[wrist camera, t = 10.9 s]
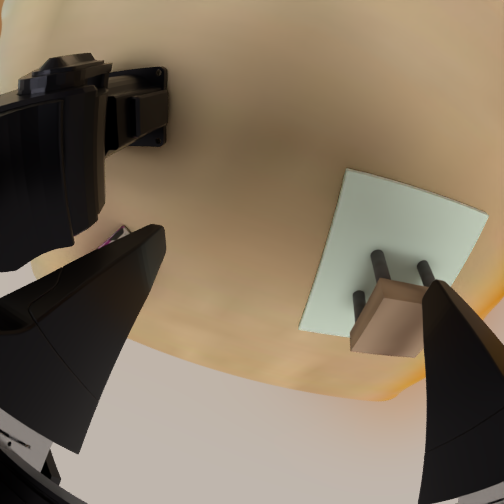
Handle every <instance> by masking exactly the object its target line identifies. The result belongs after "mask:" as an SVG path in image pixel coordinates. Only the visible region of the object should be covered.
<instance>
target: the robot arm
mask: <svg viewBox="0 0 504 504" xmlns="http://www.w3.org/2000/svg"><path fill="white" fill-rule="evenodd" d="M111 69H112V63H104V61H97V60H95V59H94V58H93V56H92V55H91V53H82V54H73V55H66V56H59V57H54V58H49V59H48V60H47V61H46V62H45V63H44V64H43V66H42V67H41V68H40V69H37V70H34V71H32V72H31V73H29V74H27V75H25V76H23V77H21V78H20V79H19V81H18V90H14V91H11V92H8V93H5V94H2V95H0V272H9V271H15V270H18V269H19V268H20V267H22V266H24V265H25V264H27V263H28V262H30V261H31V260H33V259H34V258H36V257H38V256H39V255H41V254H43V253H46V252H49V251H52V250H54V249H58V248H64V247H70V246H73V245H74V243H75V242H74V236H76V235H78V234H80V233H81V232H83V231H85V230H87V229H88V228H89V227H91V226H92V225H93V224H94V223H95V222H96V221H97V220H98V214H99V213H100V211H101V209H102V208H103V206H104V204H105V158H106V157H108V156H110V155H112V154H113V153H115V152H117V151H119V150H120V149H122V148H124V147H126V146H151V147H160V146H162V145H164V144H165V142H166V124H167V123H168V92H167V91H166V82H167V70H166V68H164V67H150V68H140V69H132V70H124V71H118V72H111ZM159 70H161V75H160V76H159V75H158V71H159ZM109 72H111V73H109ZM158 138H160V139H161V143H160V142H159V141H158ZM165 253H166V239H165V230H164V227H163V226H161V225H156V224H150V225H148V226H145V227H143V228H141V229H139V230H137V231H134V232H132V233H130V234H128V235H126V236H124V237H121V238H119V239H117V240H115V241H113V242H111V243H109V244H107V245H105V246H103V247H101V248H98V249H96V250H94V251H92V252H90V253H88V254H86V255H84V256H82V257H80V258H78V259H77V260H75V261H73V262H71V263H69V264H67V265H65V266H63V268H62V267H61V268H59V269H57V270H56V271H54V272H52V273H50V274H48V275H46V276H44V277H42V278H40V279H38V280H36V281H34V282H32V283H30V284H28V285H26V286H24V287H22V288H20V289H18V290H16V291H14V292H12V293H10V294H7V295H6V296H3V297H2V298H0V504H87V503H85V502H84V501H82V500H80V499H78V498H77V497H75V496H74V495H72V494H70V493H69V492H67V491H66V490H64V489H63V488H61V487H60V486H59V484H60V481H61V477H60V475H59V472H58V470H57V467H56V464H55V462H54V459H53V456H52V453H51V450H50V447H51V445H52V442H55V443H56V444H58V445H60V446H62V447H64V448H66V449H68V450H70V451H72V452H74V453H76V454H79V452H80V449H81V447H82V444H83V441H84V438H85V436H86V433H87V430H88V428H89V425H90V422H91V419H92V417H93V414H94V412H95V410H96V407H97V405H98V402H99V399H100V397H101V394H102V392H103V390H104V387H105V385H106V383H107V380H108V378H109V376H110V374H111V371H112V369H113V367H114V364H115V362H116V360H117V358H118V356H119V354H120V351H121V349H122V347H123V345H124V343H125V341H126V339H127V337H128V335H129V332H130V330H131V328H132V326H133V324H134V322H135V320H136V318H137V316H138V314H139V312H140V310H141V308H142V306H143V304H144V302H145V300H146V299H147V297H148V295H149V292H150V290H151V288H152V285H153V283H154V280H155V278H156V275H157V273H158V270H159V268H160V265H161V263H162V260H163V258H164V256H165ZM422 319H423V345H424V356H425V370H426V390H427V391H426V392H427V422H426V444H425V452H426V453H425V456H424V465H423V474H422V482H421V488H420V494H419V499H418V504H432V503H438V502H442V501H446V500H450V499H454V498H458V503H457V504H504V345H503V344H502V343H501V341H500V340H499V339H498V338H497V337H496V335H495V334H494V333H493V332H492V331H491V329H489V327H488V326H487V325H486V324H485V323H484V322H483V320H482V319H481V318H480V317H479V316H478V315H477V314H476V313H475V312H474V310H473V309H472V308H471V307H470V306H469V305H468V304H467V303H466V302H465V301H464V300H463V299H462V298H461V297H460V296H459V295H458V294H457V293H456V292H455V291H454V290H453V289H452V288H451V287H450V286H449V285H448V284H447V283H446V282H445V281H443V280H438V279H435V280H433V281H432V283H431V284H430V286H429V288H428V289H427V291H426V292H425V294H424V296H423V298H422Z"/></svg>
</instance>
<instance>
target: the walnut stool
mask: <svg viewBox="0 0 504 504" xmlns="http://www.w3.org/2000/svg"><path fill="white" fill-rule="evenodd" d="M370 257H371V261H372V265H373V270H374V274H375V279H376V286H375V288H374V290H373V292H372V294H371V295H370V297H369V299H368V301H367V303H366V300H365V293H364V292H363V291H361V290H358V291H355V292H354V293H353V295H352V296H353V306H354V317H355V324H354V326H353V328H352V329H351V331H350V351H351V352H359V353H368V354H377V355H387V356H398V357H411V358H415V357H416V356H417V355H418V354H419V353H420V351H421V350H422V349H423V348H424V345H423V319H422V298H423V296H424V294H425V292H426V291H427V289H428V288H429V286H430V284H431V283H432V281H433V280H435V277H434V275H433V273H432V270H431V268H430V266H429V264H428V262H427V261H426V260H422V261H420V262H419V263H418V264H417V270H418V272H419V275H420V277H421V280H422V283H423V286H420V285H415V284H410V283H405V282H400V281H395V280H391V277H390V273H389V270H388V266H387V263H386V260H385V256H384V253H383V251H382V250H379V249H377V250H374V251H373V252H372V253H371V255H370Z"/></svg>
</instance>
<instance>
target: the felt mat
mask: <svg viewBox="0 0 504 504" xmlns="http://www.w3.org/2000/svg"><path fill="white" fill-rule="evenodd" d="M488 217H489V215H488V214H487V213H486V212H484V211H481V210H479V209H476V208H474V207H471V206H469V205H466V204H464V203H461V202H458V201H456V200H453V199H450V198H447V197H445V196H442V195H439V194H436V193H433V192H430V191H427V190H424V189H421V188H418V187H415V186H411V185H408V184H405V183H402V182H398V181H395V180H391V179H388V178H384V177H380V176H377V175H373V174H369V173H365V172H361V171H357V170H353V169H349V168H346V171H345V175H344V179H343V183H342V187H341V191H340V194H339V198H338V202H337V206H336V209H335V213H334V217H333V220H332V224H331V227H330V231H329V234H328V238H327V241H326V244H325V248H324V251H323V254H322V258H321V261H320V264H319V267H318V270H317V273H316V277H315V280H314V283H313V286H312V289H311V292H310V295H309V298H308V301H307V304H306V307H305V309H304V312H303V315H302V318H301V321H300V324H299V329H298V330H304V331H310V332H316V333H322V334H329V335H335V336H342V337H350V331H351V329H352V328H353V326H354V324H355V317H354V306H353V296H352V295H353V293H354V292H355V291H358V290H361V291H363V292H364V293H365V300H366V303H367V301H368V299H369V297H370V295H371V294H372V292H373V290H374V288H375V286H376V279H375V274H374V270H373V265H372V261H371V257H370V255H371V253H372V252H373V251H374V250H377V249H379V250H382V251H383V253H384V256H385V260H386V263H387V266H388V270H389V273H390V277H391V280H395V281H400V282H405V283H410V284H415V285H420V286H423V283H422V280H421V277H420V275H419V272H418V270H417V264H418V263H419V262H420V261H422V260H426V261H427V262H428V264H429V266H430V268H431V270H432V273H433V275H434V277H435V279H438V280H443V281H445V282H446V283H447V284H448V285H449V286H450V287H451V285H452V283H453V282H454V280H455V279H456V277H457V275H458V274H459V272H460V270H461V269H462V267H463V265H464V264H465V262H466V260H467V258H468V256H469V255H470V253H471V251H472V249H473V247H474V245H475V243H476V242H477V240H478V238H479V236H480V234H481V232H482V230H483V227H484V225H485V223H486V221H487V219H488Z"/></svg>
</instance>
